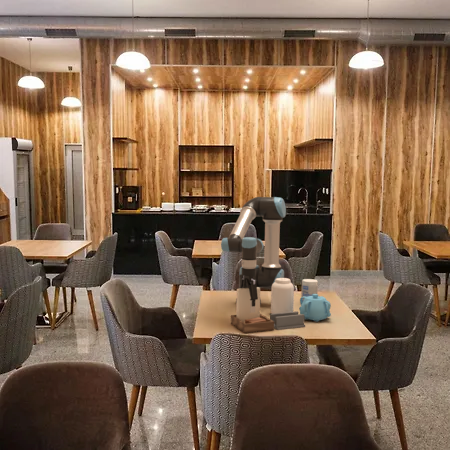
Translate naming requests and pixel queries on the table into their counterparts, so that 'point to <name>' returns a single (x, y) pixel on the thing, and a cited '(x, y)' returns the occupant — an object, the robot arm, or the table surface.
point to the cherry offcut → (255, 320)
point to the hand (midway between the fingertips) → (248, 309)
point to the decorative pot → (315, 307)
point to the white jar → (282, 296)
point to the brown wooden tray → (253, 325)
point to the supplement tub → (309, 287)
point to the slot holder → (287, 320)
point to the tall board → (246, 305)
